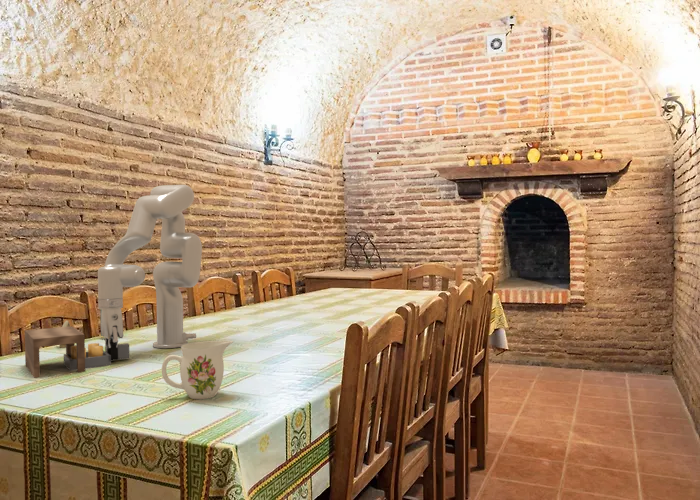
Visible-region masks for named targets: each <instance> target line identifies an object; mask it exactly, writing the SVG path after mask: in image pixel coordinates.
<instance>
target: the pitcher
mask: <svg viewBox="0 0 700 500" xmlns="http://www.w3.org/2000/svg"><path fill="white" fill-rule="evenodd" d="M233 342H234V340H210V341H207V340H206V341H195V342H188V344H184V345H182V346H181V347H180V349H181V353H182V356H180V355H177V354H169V355H168V356H167V357H165V358H164V360H163V361H162V364H161V375H162V379H163V380H164V382H165V383H166V384H167V385H169V386H170V387H172V388H175V389H178V390H179V389H180V390H184V392H185V394H187V396H188V397H189V398H190V399H193V400H206V399H210V398H211V399H212V398H214V397H215V396H216V395H217V393H218V392H219V390H220V388H221V385H222V382H223V380H224V379H223V378H224V371H225V366H224V358H223V355H224V353H225V351H226V349H227V348H228V347H229V346H230V345H231V344H233ZM170 361H177V362H179V363H180V365H179V375H180V380H181V382H176V381H174V380H172V379H171V378H170V377H169V375H168V373H167V366H168V364H169V362H170Z"/></svg>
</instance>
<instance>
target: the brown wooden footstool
mask: <svg viewBox="0 0 700 500" xmlns="http://www.w3.org/2000/svg"><path fill="white" fill-rule="evenodd" d="M85 336H86V335H85V334H84V333H83V332H81V331H80V330H78V329H77V328H75V327H74V326H73V325H72V326H71V325H70V327H62V326H59V327H49V328H37V329H36V328H35V329H25V330H24V350H25V351H24V355H25V356H24V357H25V360H24V361H25V368H27V370H28V371H29V373H30V374H31V376H32V377H33V378H35V379H36V378H40V377H41V372H40V371H41V368H40V367H41V366H40V365H41V364H40V347H49V346H60V345H61V344H66V348H65V354H71V346H74V345H75V344H76V350H77V370H76V371H77V372H78V373H82V372H86V368H85V348H86V346H85V345H86V344H85V343H86V342H85V341H86V340H85ZM74 343H75V344H74Z"/></svg>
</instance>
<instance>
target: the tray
mask: <svg viewBox="0 0 700 500" xmlns="http://www.w3.org/2000/svg"><path fill="white" fill-rule="evenodd" d="M105 347H106V352H105V350H104V346H103V345H100V343H99V342H97V343H96V342H95V343H93V342H92V343H88V344H87V348H86V347H85V369H91V368H99V367H107V366H111V365H112V361H113V360H111V355H109V354H108V353H107V348H108V345H106V346H105ZM125 359H130V343H129V342H127V343H126V342H125V343H118V359H117V360H118V361H119V360H120V361H121V360H125ZM117 360H116V361H117ZM63 365H64V366H66V367H65V368H67V369H68V370H69V371H77V350H76V345H75V344H74V346H71V354H66V353H64V354H63Z"/></svg>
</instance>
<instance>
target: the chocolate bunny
mask: <svg viewBox="0 0 700 500" xmlns="http://www.w3.org/2000/svg"><path fill="white" fill-rule="evenodd" d="M70 326H71V323H69V320H65V321H64V322H63V324H62V326H61V327H70ZM75 344H76V343H74V345H75ZM58 347H59V348H60V349H66V344H61V345H58Z"/></svg>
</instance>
